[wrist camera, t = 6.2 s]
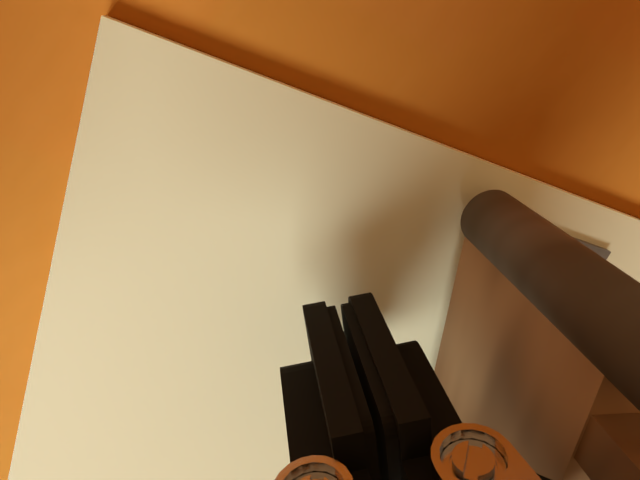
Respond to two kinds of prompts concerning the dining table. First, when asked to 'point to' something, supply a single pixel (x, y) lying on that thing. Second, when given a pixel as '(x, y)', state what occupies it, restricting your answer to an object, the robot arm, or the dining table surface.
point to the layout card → (236, 259)
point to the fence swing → (543, 344)
